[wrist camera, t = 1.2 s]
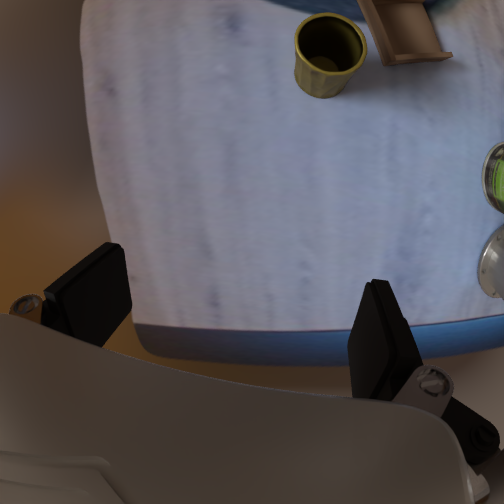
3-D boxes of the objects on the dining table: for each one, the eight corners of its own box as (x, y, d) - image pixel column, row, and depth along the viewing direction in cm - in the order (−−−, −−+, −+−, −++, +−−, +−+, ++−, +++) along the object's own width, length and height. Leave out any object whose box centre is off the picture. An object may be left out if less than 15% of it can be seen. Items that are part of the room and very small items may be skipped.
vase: (333, 107, 30) (353, 96, 17) (285, 84, 30) (273, 58, 17) (355, 65, 28) (386, 32, 15) (307, 42, 27) (308, -5, 15)
